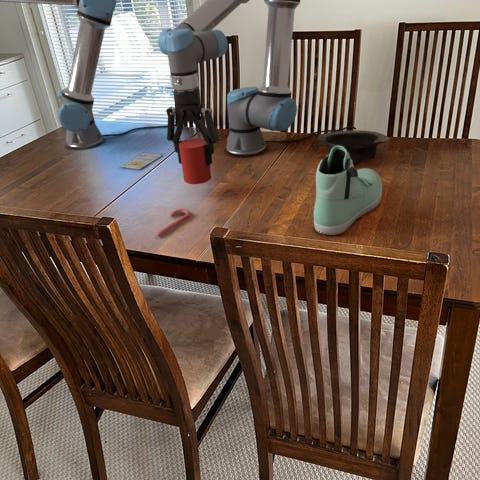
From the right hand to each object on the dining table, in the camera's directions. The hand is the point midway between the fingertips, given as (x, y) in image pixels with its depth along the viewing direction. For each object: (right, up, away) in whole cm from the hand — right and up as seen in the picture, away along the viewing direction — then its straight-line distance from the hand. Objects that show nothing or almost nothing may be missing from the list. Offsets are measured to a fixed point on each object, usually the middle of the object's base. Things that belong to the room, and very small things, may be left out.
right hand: (195, 163), depth 148 cm
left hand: (-81, +30, +25) cm, 90 cm away
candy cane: (-6, -19, -10) cm, 23 cm away
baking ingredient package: (-24, +6, +34) cm, 42 cm away
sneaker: (+45, -15, -9) cm, 48 cm away
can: (0, -4, +3) cm, 5 cm away
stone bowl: (+54, +6, +24) cm, 59 cm away
